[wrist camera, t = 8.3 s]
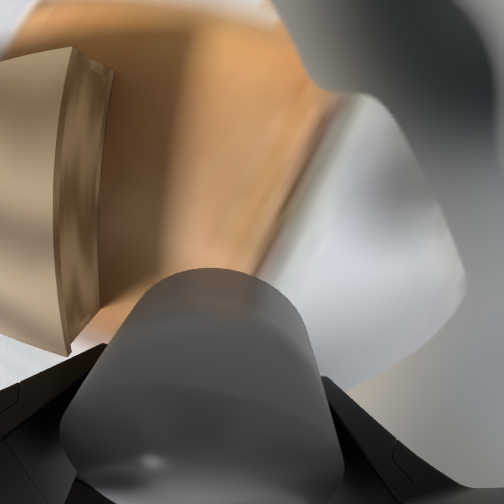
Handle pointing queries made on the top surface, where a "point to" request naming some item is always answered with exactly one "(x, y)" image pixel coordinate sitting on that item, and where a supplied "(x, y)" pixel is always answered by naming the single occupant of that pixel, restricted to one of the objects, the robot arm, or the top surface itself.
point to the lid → (33, 197)
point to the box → (82, 190)
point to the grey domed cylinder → (206, 401)
